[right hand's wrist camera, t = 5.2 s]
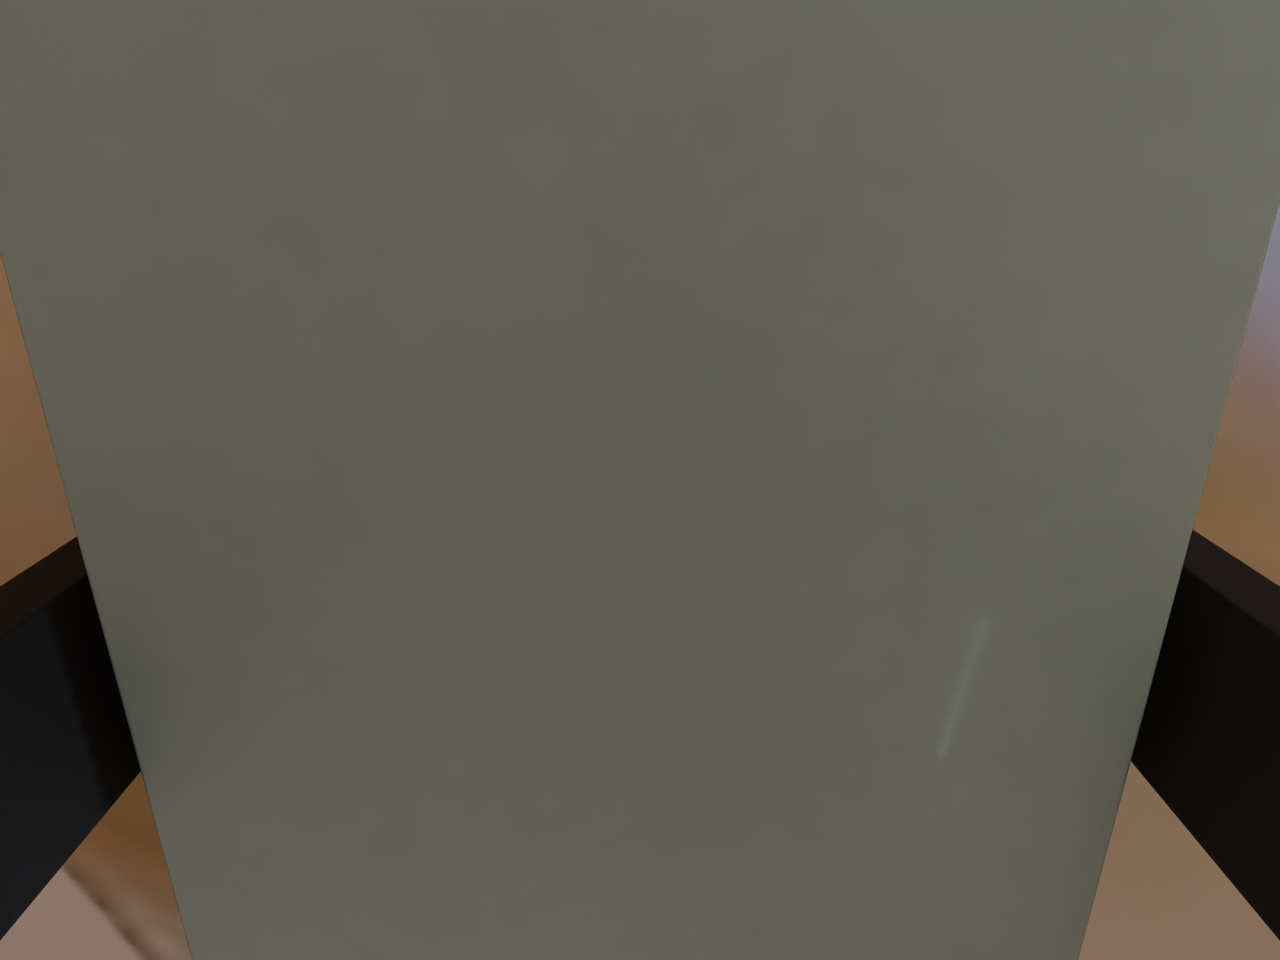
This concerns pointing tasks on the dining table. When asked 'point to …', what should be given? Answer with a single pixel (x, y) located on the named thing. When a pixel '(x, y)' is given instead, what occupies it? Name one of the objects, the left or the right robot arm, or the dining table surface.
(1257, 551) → the dining table surface
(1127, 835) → the dining table surface
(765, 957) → the cabinet
